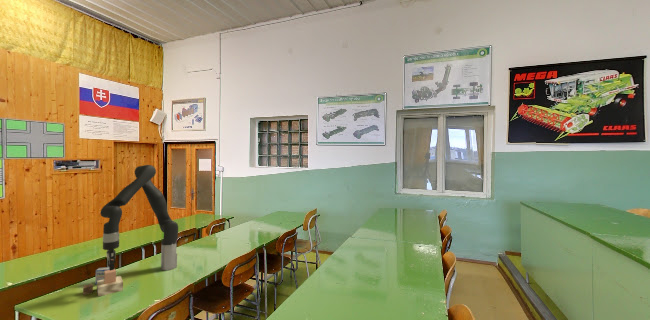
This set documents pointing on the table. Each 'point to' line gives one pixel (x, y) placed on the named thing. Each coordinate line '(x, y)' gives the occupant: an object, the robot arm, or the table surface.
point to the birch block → (109, 286)
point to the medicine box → (100, 274)
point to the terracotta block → (109, 276)
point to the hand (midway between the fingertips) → (111, 267)
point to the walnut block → (88, 289)
